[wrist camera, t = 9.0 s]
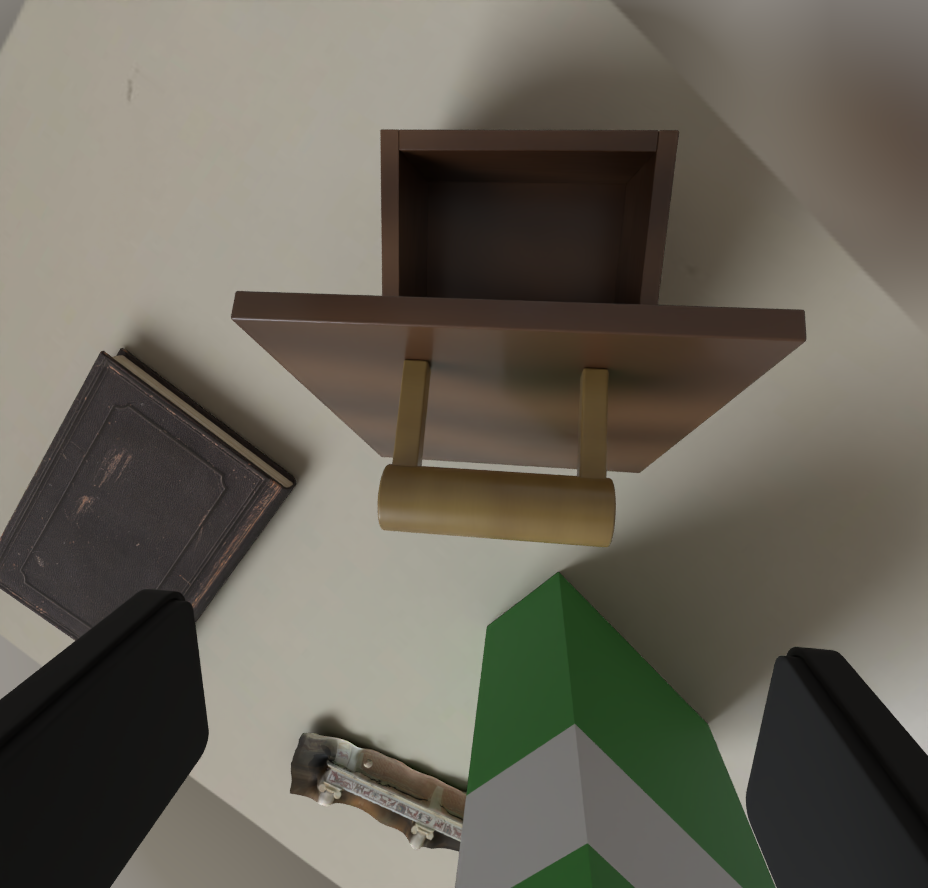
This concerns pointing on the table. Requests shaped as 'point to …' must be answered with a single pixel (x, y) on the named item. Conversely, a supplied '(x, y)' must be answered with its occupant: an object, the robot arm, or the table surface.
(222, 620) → the table surface
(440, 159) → the dark brown open box
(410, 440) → the lid
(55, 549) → the hardcover book
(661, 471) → the table surface
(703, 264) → the table surface
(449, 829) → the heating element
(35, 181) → the table surface
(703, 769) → the hardback book
